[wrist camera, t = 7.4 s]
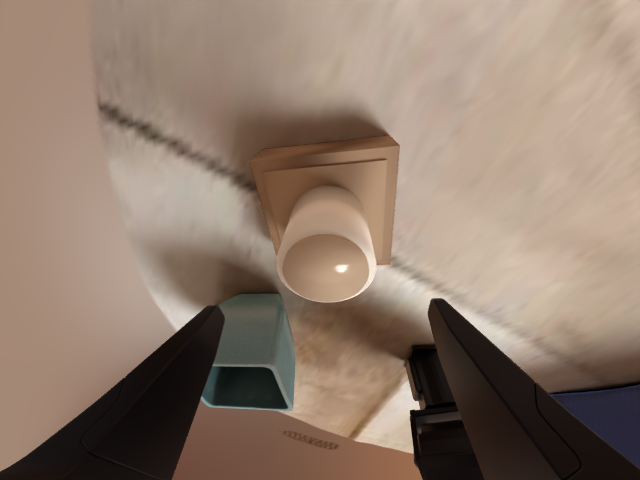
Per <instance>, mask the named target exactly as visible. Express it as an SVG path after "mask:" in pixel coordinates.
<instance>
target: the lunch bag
mask: <svg viewBox="0 0 640 480" xmlns="http://www.w3.org/2000/svg"><path fill="white" fill-rule="evenodd" d="M551 396H552V397H553V398H554V399H555V400H557V401H558V402H559V403H560V404H561V405H562V406H563V407H565V408H566V409H567V410H568V411H569V412H570V413H572V414H573V415H574V416H575V417H576V418H578V419H579V420H580V421H581V422H583V423H584V424H585V425H586V426H587V427H589V428H590V429H591V430H592V431H594V432H595V433H596V434H597V435H598V436H600V437H601V438H602V439H603V440H605V441H606V442H607V443H608V444H610V445H611V446H612V447H613V448H615V449H616V450H617V451H618V452H620V453H621V454H622V455H623V456H625V457H626V458H627V459H629V460H630V461H631V462H632V463H634V464H635V465H636V466H637V467H639V468H640V384H639V385H636V386H631V387H625V388H618V389H610V390H602V391H591V392H579V393H564V394H552V395H551Z"/></svg>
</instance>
